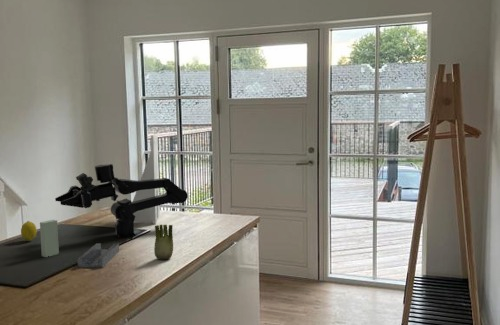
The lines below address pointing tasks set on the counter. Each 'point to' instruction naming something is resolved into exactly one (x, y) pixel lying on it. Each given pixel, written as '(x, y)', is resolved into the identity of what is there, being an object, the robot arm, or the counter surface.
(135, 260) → the counter surface
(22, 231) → the lemon
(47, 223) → the door panel
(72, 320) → the counter surface
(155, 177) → the white bracket plate
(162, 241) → the fennel bulb
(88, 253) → the track
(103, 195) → the robot arm
